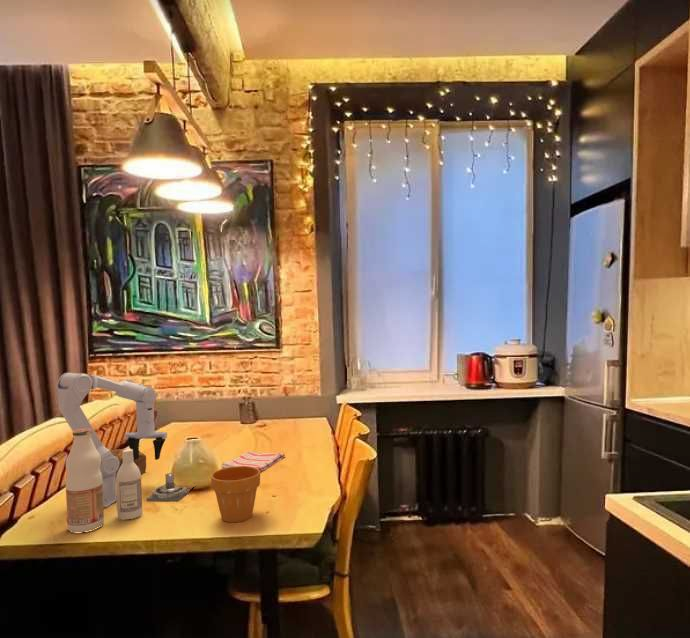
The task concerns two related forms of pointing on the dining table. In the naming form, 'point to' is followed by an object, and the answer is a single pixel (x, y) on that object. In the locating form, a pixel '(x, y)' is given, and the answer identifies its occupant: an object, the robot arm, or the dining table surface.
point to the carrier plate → (167, 495)
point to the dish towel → (255, 460)
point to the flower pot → (236, 491)
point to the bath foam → (128, 488)
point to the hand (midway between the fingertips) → (146, 459)
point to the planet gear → (169, 485)
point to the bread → (139, 462)
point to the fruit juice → (84, 484)
